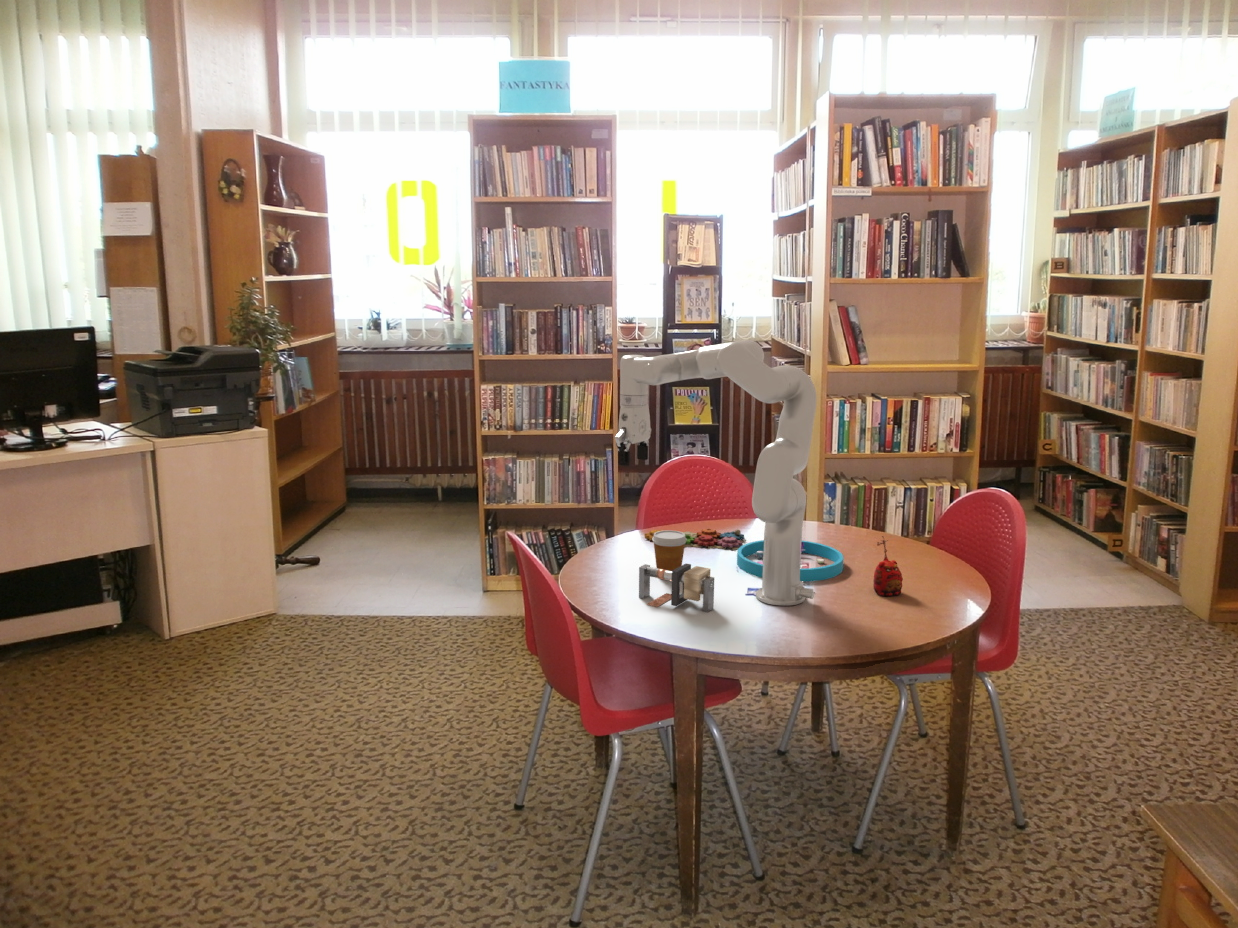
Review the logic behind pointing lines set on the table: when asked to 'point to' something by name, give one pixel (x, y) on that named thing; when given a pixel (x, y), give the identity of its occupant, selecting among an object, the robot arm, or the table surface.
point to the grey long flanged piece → (648, 572)
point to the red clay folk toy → (887, 576)
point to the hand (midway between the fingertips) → (633, 462)
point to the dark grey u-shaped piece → (678, 585)
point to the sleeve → (694, 582)
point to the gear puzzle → (710, 539)
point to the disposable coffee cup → (669, 549)
